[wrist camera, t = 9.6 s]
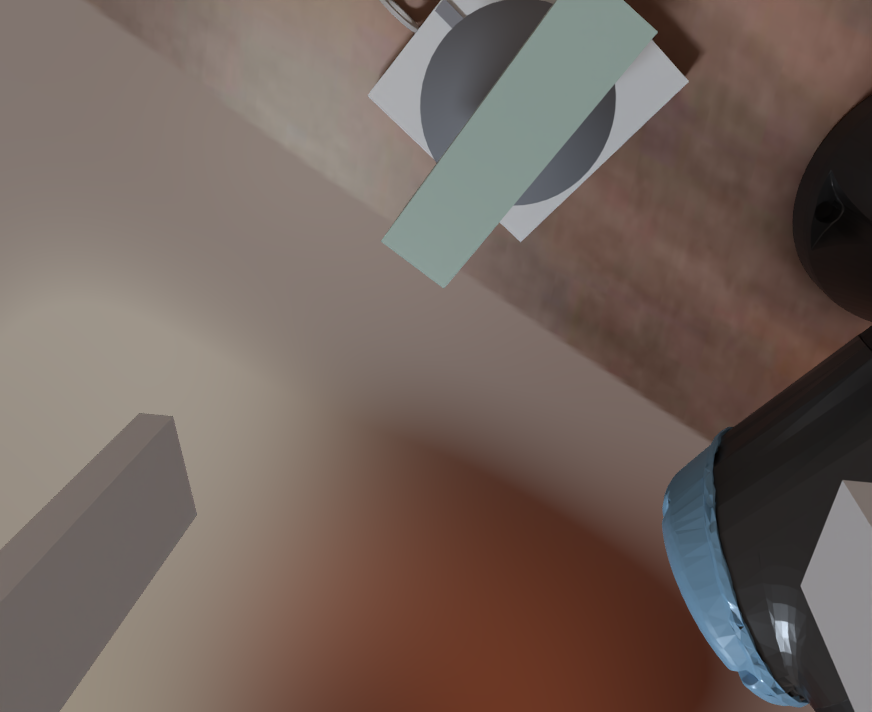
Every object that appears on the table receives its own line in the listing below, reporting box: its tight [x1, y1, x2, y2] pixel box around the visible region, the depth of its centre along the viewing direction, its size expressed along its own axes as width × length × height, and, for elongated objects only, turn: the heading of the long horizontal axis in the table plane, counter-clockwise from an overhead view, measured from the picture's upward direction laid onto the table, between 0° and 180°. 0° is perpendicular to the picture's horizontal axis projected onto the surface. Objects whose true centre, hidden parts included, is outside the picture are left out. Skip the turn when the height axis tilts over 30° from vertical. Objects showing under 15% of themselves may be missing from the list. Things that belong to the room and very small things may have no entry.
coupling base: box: [368, 0, 689, 242], centre depth 35 cm, size 13×13×6 cm
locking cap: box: [381, 0, 658, 288], centre depth 27 cm, size 12×9×12 cm
